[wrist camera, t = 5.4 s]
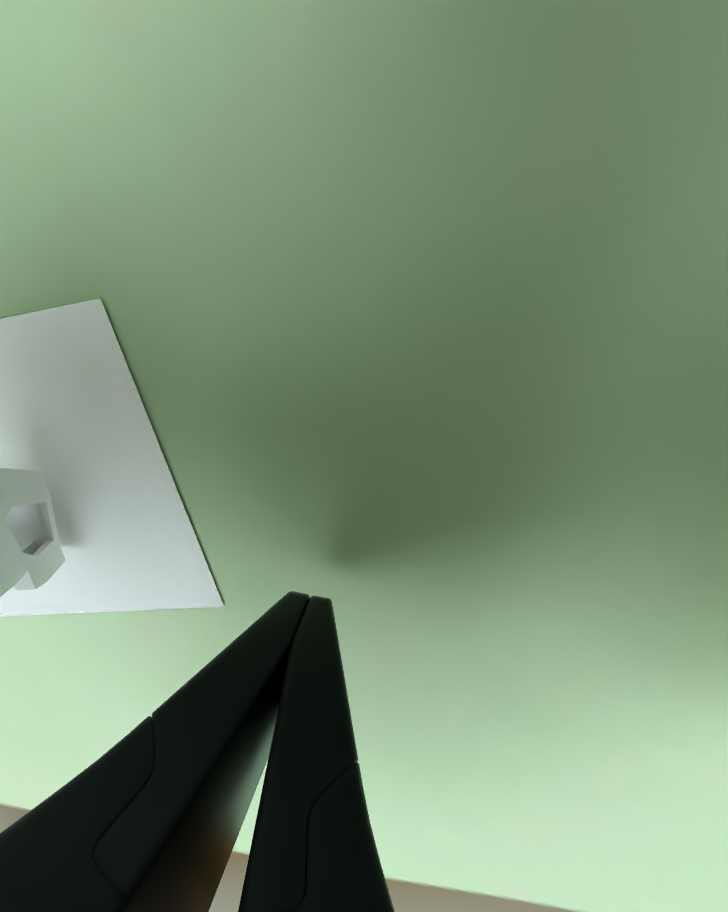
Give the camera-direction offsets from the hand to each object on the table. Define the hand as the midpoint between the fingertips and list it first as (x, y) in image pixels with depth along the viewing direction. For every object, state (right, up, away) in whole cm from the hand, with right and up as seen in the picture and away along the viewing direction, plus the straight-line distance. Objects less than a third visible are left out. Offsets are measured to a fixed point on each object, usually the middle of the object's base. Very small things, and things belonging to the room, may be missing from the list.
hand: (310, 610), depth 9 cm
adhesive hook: (-8, +2, +2) cm, 8 cm away
